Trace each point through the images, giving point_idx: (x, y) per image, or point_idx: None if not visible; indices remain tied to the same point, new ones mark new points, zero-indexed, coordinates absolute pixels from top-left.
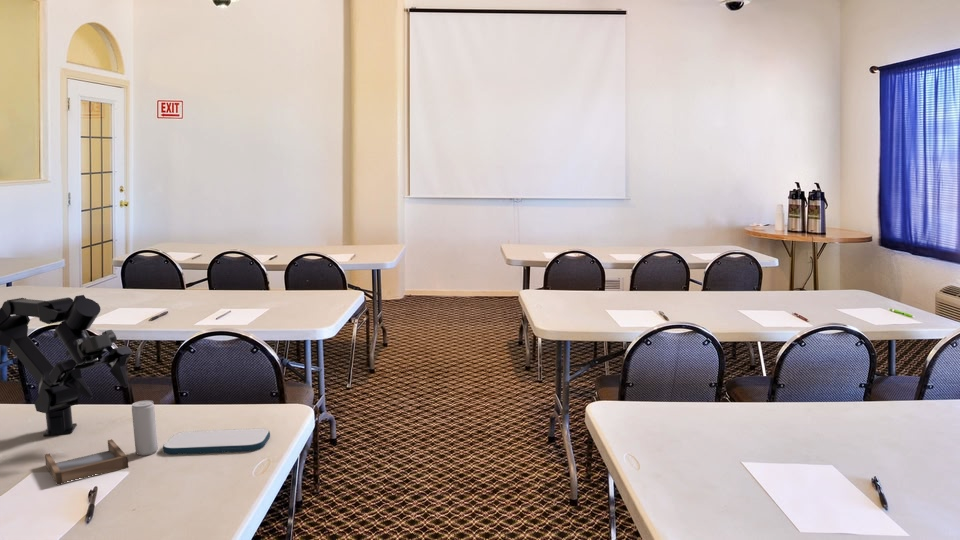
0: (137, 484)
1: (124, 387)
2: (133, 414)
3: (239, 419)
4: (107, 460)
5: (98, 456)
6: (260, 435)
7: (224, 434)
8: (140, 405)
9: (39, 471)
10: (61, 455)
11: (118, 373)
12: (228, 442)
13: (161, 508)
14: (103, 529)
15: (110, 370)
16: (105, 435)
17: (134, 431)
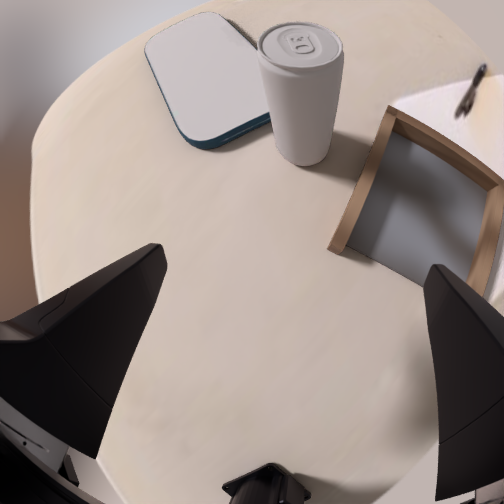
0: (408, 63)
1: (166, 270)
2: (342, 71)
3: (85, 142)
4: (425, 129)
5: (385, 233)
6: (175, 28)
7: (181, 63)
8: (320, 37)
9: None
10: (406, 350)
11: (94, 350)
12: (217, 34)
13: (416, 16)
14: (475, 45)
15: (91, 452)
16: (248, 371)
17: (335, 114)
